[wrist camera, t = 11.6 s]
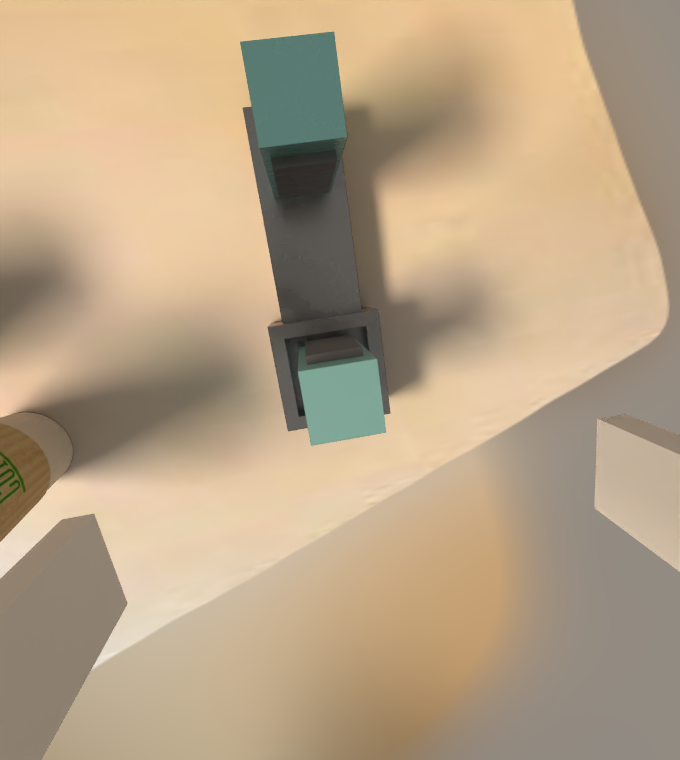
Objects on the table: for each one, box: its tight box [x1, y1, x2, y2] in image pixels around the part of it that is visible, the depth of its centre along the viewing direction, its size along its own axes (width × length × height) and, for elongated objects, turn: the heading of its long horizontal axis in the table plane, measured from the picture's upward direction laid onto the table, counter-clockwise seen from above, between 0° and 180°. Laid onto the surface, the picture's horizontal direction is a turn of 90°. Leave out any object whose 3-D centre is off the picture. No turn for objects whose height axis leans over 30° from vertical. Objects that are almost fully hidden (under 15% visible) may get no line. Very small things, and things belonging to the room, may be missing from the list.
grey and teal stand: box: [240, 32, 390, 431], centre depth 23 cm, size 22×8×11 cm, turn 8°
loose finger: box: [298, 335, 386, 446], centre depth 24 cm, size 5×4×9 cm
